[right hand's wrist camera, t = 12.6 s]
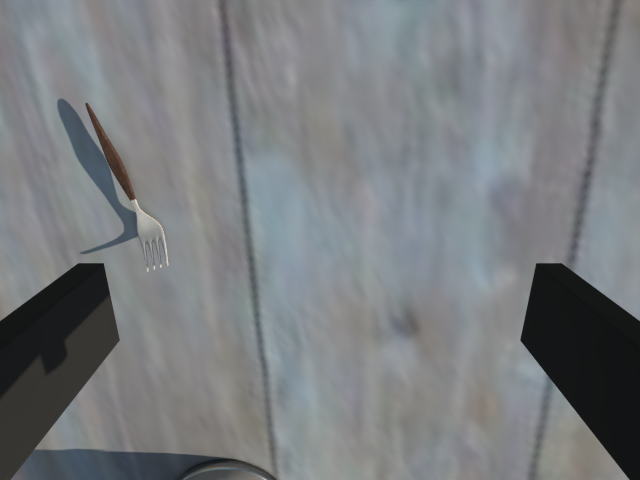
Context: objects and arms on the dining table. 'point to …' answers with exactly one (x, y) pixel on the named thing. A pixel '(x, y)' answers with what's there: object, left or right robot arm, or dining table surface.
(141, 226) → the fork
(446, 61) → the dining table surface
